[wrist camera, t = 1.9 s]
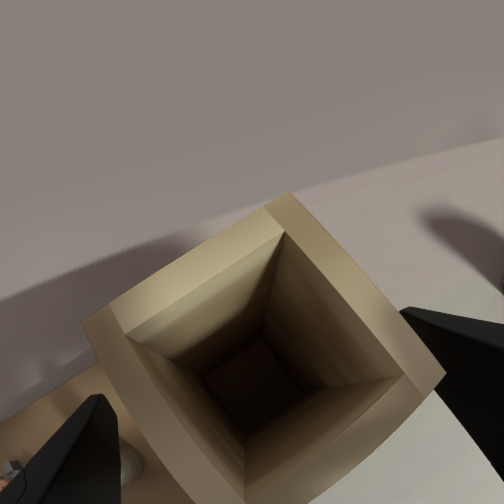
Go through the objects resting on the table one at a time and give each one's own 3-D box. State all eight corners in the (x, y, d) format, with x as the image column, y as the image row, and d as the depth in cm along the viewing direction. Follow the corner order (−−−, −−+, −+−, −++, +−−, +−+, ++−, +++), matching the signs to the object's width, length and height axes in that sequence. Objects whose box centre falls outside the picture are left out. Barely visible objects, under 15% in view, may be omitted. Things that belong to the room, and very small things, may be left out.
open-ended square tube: (371, 396, 14) (528, 367, 5) (233, 498, 12) (216, 630, 2) (270, 272, 18) (296, 111, 8) (134, 361, 15) (-7, 291, 5)
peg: (152, 468, 13) (116, 491, 8) (126, 481, 12) (85, 504, 8) (132, 440, 13) (89, 453, 9) (108, 453, 13) (60, 467, 8)
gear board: (380, 404, 15) (389, 404, 14) (65, 571, 8) (58, 577, 7) (263, 261, 19) (264, 253, 18) (-17, 440, 12) (-27, 440, 11)
